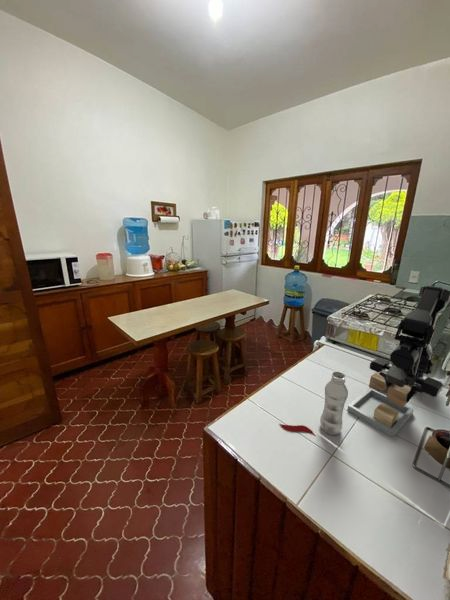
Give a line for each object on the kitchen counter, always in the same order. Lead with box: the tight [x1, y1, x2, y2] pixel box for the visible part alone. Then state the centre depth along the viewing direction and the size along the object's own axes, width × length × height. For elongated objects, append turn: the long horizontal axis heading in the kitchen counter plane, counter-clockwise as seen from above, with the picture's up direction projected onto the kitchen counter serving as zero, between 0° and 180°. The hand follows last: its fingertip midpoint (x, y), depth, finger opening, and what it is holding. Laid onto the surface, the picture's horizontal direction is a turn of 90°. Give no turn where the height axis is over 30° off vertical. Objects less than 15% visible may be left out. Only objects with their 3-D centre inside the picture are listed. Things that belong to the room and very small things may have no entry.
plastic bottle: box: [319, 371, 349, 436], centre depth 75 cm, size 6×7×20 cm
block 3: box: [386, 383, 411, 407], centre depth 82 cm, size 5×5×5 cm
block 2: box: [373, 403, 399, 428], centre depth 79 cm, size 5×5×5 cm
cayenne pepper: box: [279, 423, 316, 436], centre depth 78 cm, size 12×5×2 cm, turn 57°
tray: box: [347, 387, 415, 438], centre depth 84 cm, size 16×14×2 cm
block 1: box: [368, 371, 387, 393], centre depth 97 cm, size 5×5×5 cm
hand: (398, 397), depth 82 cm, fingers closed on block 3, 5 cm apart
